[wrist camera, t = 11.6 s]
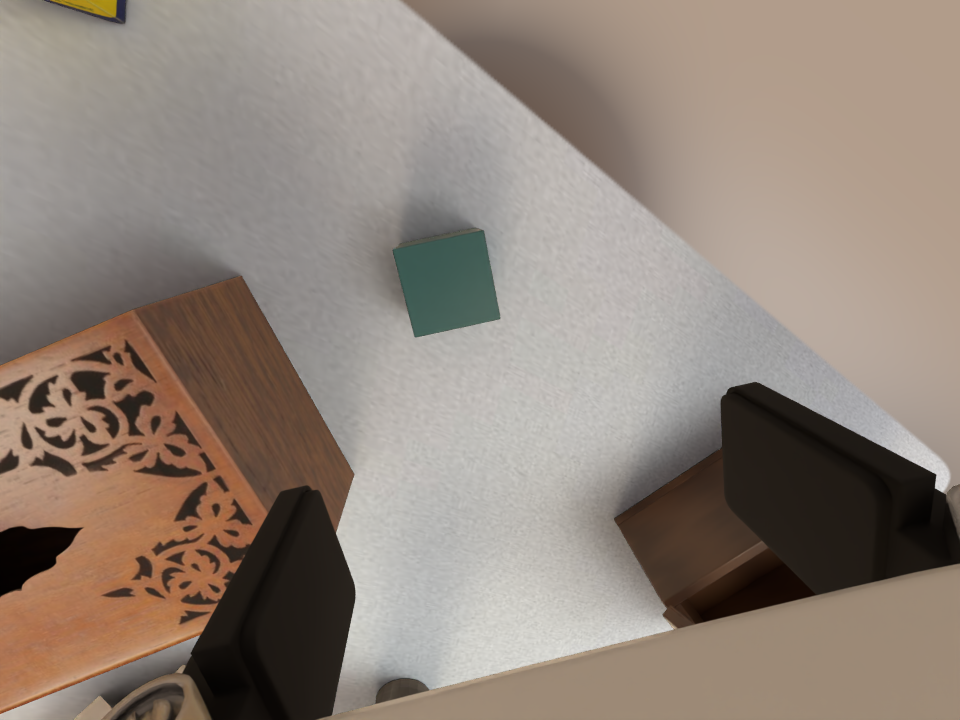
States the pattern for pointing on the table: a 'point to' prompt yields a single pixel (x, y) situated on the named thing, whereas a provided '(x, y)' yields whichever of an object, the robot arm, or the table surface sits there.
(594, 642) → the table surface
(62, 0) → the supplement box
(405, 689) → the beverage cup
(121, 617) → the tissue box cover
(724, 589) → the chest
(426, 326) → the block
